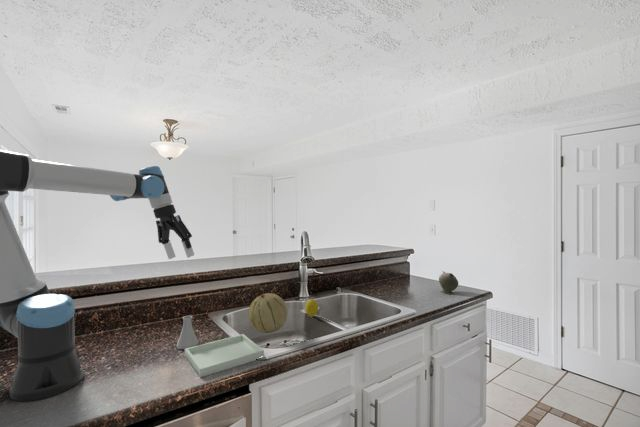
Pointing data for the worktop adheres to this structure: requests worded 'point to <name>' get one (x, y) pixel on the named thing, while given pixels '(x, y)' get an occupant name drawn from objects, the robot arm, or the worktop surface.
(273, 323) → the cantaloupe
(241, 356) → the tray
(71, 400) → the worktop surface
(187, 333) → the flask
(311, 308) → the lemon
